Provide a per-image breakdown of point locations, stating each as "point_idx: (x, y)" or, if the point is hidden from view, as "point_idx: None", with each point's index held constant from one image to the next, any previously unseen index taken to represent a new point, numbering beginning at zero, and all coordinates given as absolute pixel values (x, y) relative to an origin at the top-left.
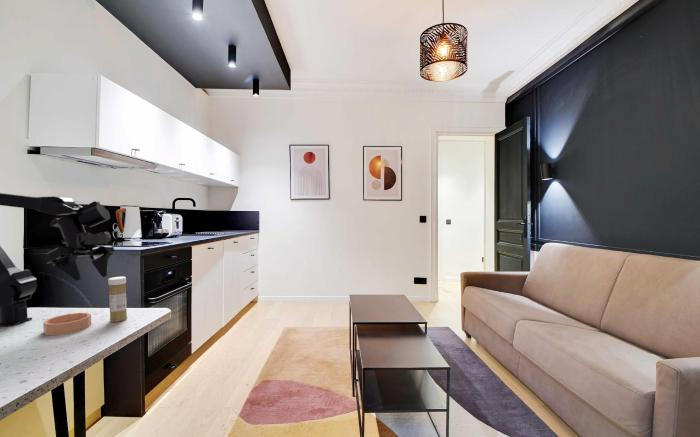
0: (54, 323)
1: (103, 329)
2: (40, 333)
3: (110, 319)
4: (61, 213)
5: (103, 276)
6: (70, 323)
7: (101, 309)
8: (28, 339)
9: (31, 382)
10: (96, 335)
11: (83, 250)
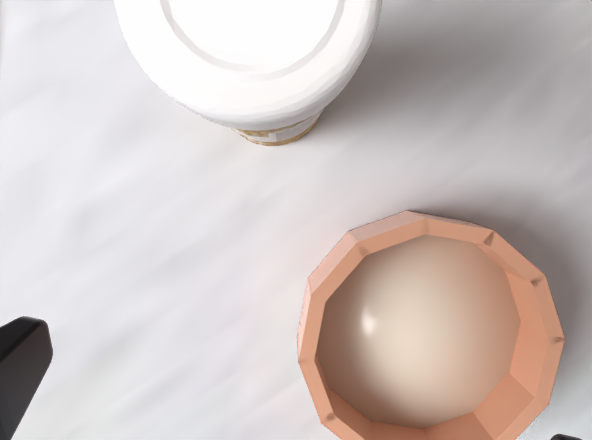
0: (396, 433)
1: (462, 79)
2: None
3: (310, 126)
4: None
5: (46, 358)
6: (527, 263)
7: None
8: (573, 417)
9: None
10: (571, 53)
11: None
